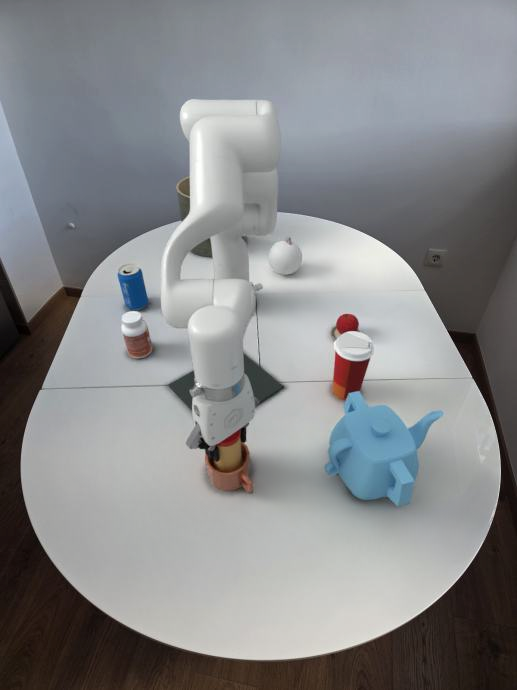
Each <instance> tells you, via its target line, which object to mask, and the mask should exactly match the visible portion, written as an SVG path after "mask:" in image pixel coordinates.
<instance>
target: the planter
mask: <svg viewBox="0 0 517 690" xmlns="http://www.w3.org/2000/svg"><path fill="white" fill-rule="evenodd" d="M175 188H176V195H177V201H178V208H179V215H180V221H181V223H182V222H183V220H184V219H185V218H186V217H187V216H188V214H189V212H190V175H189V176H187V177H185V178H182V179H181V180H179V182H178V183H177V184H176V187H175ZM241 237H242V239H243V240H244V241H245V243H246V244H247V236H241ZM190 252H191V253H192V254H194V255H197V256H201V257H206V258H213V256H212V246H211V239H210V238H208V239H206V240H205V241H203V242H201V243H200V244H198V245H197V246H195V247H194V248H193V249H192V250H191V251H190Z"/></svg>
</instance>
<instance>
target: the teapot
mask: <svg viewBox="0 0 517 690" xmlns="http://www.w3.org/2000/svg"><path fill="white" fill-rule="evenodd" d="M342 409H343V412H344V415H343V416H342V417H341V418H340V419H339V420H338V422H337V423H336V424H335V425H334V427H333V430H332V431H331V433H330V436H329V441H328V444H329V445H328V446H329V447H328V449H327V455H328V458H329V460H330V461H328V462H326V463H325V465H324V470H325V472H326V474H328V475H331V476H334V475H337V474H338V475H339V477H340V479H341V480H342V482H343V483H344V485H345V486H346V487H347V488H348V490H349V491H350V492H351V493H352V495H353V496H354V497H356V498H358V499H359V500H362V501H371V500H377V499H381V498H385V497H387V498H388V499H389V500H390V501H391V502H393V503H394V504H395V505H396V506H397V507H400V506H404V505H409V504H411V500H412V497H413V496H412V495H413V490H414V486H415V483H416V481H417V478H418V473H419V467H420V465H419V456H418V450H419V449H420V448H421V446H422V445H423V443H424V442H425V440H426V437H427V434H428V432H429V429H430V428H431V426H432V425H433V424H434V423H435V422H436V421H437V420H439V419H441V418H442V417H443V416H444V415H445V413H444V411H443V410H434V411H430V412H429V413H427V414H425V415H424V416H422V418H420V419H419V420H418V421H417V422H416V423H415V424H413V425H412V426H410V427H409V428H408V426H407V425H406V424H405V422H404V421H403V420H402V418H401V417H400V416H399V415H398V414H397V412H395V411H394V410H393V409H392V408H391V407H390V406H387V405H386V404H377V405H372V406H369V405H368V404H367V402H366V400H365V399H364V396H363V394H362V393H361V390H360V391H357V392H352V393H349V394H348V396H347V399H346V401H345V402H344V404H343V406H342Z"/></svg>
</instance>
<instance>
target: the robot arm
mask: <svg viewBox="0 0 517 690" xmlns="http://www.w3.org/2000/svg"><path fill="white" fill-rule="evenodd" d="M179 122H180V123H179V124H180V127H181V130H182V133H183V135H184V137H185V139H186V140H187V142H188V143H189V176H190V212H189V214H188V216H187V217H186V218H185V219H184V220H183V222H182V221H181V222H180V223H179V224H178V226H177V227H176V229H175V230H174V231H173V232H172V234H171V236H170V237H169V239H168V241H167V243H166V245H165V247H164V250H163V253H162V257H161V262H160V309H161V314H162V318H163V319H164V321H165V323H166V324H167V325H169V326H170V327H172V328H175V329H187V335H188V343H189V349H190V354H191V355H190V356H191V360H192V368H193V370H194V374H195V378H194V381H195V385H194V387H193V388H192V389H191V390H189V392H190V394H191V396H192V397H193V400H192V410H191V414H192V416H191V417H192V423H193V429H192V430H191V432H190V434H189V435H188V438H187V440H186V441H185V445H186V446H187V448H188V449H190V450H195V449H196V450H197V449H199V450H204V452H205V454H206V455H207V456H208V457H209V458H210V459H211V458H213V459H214V460H215V461H216V462H218V461H219V459H220V457H219V449H218V447H217V446H216V444H218V443H220V442H221V441H223V440H224V439H226V438H227V437H229V436H230V435H232V434H233V433H235V432H236V431H238V430H239V429H241V435H240V438H241V442H242V443H245V444H246V442H247V428H248V427H249V425H250V422H251V421H253V420H254V418H255V416H256V408H257V407H258V406H259V405H260V404H259V402H260V401H259V400H258V399H257V398H256V397H254V396H253V391H252V387H251V384H250V381H249V379H248V377H247V375H246V374H244V357H243V353H244V338H245V335H246V331H247V328H248V327H249V324H250V321H251V319H252V317H253V316H254V315H255V311H256V305H257V295H256V293H257V292H259V291H261V290H263V288H264V287H263V284H262V283H261V282H259V283H257V284H255V285H254V282H252V281H250V254H249V253H250V252H249V247H248V245H247V242H246V243H245V241H244V240H243V239H242V237H241V236H246V237H261V236H263V237H264V236H269V235H270V234H272V233H274V231H275V230H276V227H277V226H276V225H277V222H278V221H277V219H278V205H279V203H278V201H279V174H278V169H277V168H278V165H279V163H280V160H281V153H282V135H281V134H282V133H281V125H280V122H279V116H278V112H277V108H276V107H275V105H274V104H273V102H272V101H269V100H268V99H267V100H266V99H199V98H190V99H189V100H187V101H185V102H184V103H183V104H182V106H181V108H180V111H179ZM208 238H210V239H211V246H212V256H213V257H212V265H213V277H214V278H188V279H187V278H185V279H181V272H182V266H183V263H184V260H185V258H186V257H187V255H188V254H189V253H190V252H191V250H192V249H193V248H194V247H195V246H197V245H198V244H200V243H201V242H203V241H205V240H206V239H208Z"/></svg>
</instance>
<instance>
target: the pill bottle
mask: <svg viewBox="0 0 517 690" xmlns="http://www.w3.org/2000/svg"><path fill="white" fill-rule="evenodd" d="M121 322H122V323H121V327H120V330H121V334H122V338H123V341H124V344H125V348H126V352H127V354H128V356H129V357H130V358H133V359H144V358H146V357H148V356H149V355H150V354H151V353H152V351H153V343H152V340H151V335H150V331H149V327H148V324H147V322H146V320H145V319H143V315H142V313H141V312H140V311H138V310H130V311H127V312H125V313H123V315H122V316H121Z"/></svg>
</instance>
